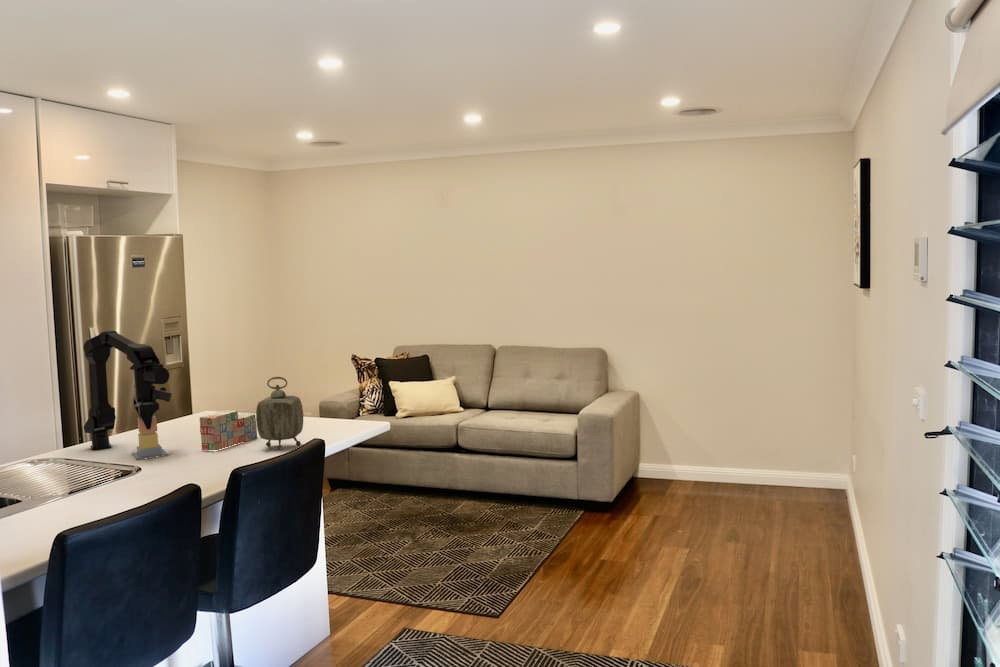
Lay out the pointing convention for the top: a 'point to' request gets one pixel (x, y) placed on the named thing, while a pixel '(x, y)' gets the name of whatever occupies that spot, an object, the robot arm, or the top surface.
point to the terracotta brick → (143, 428)
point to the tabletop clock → (279, 416)
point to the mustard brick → (148, 440)
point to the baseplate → (148, 452)
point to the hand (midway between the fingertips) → (147, 427)
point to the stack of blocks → (226, 429)
